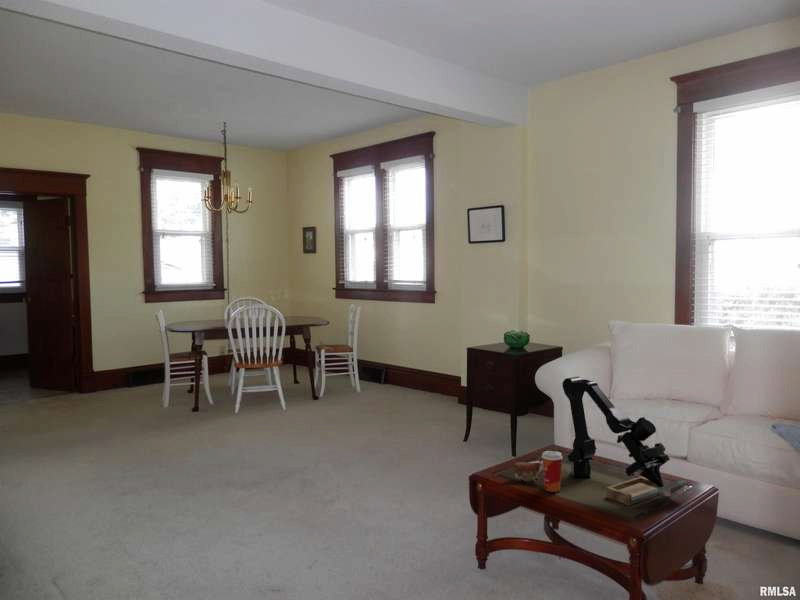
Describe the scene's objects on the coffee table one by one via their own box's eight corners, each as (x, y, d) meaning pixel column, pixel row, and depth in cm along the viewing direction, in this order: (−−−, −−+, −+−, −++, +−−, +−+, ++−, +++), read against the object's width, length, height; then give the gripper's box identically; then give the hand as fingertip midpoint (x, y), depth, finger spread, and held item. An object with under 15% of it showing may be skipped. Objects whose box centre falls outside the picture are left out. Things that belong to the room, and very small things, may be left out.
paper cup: (543, 485, 234) (543, 449, 233) (564, 487, 231) (563, 451, 230) (540, 492, 227) (539, 455, 226) (561, 495, 224) (561, 457, 223)
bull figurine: (547, 483, 236) (547, 462, 236) (512, 481, 239) (512, 460, 239) (547, 479, 241) (547, 459, 240) (512, 477, 243) (512, 457, 243)
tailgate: (630, 498, 213) (650, 491, 206) (665, 486, 223) (684, 479, 217) (632, 502, 212) (652, 495, 205) (667, 489, 223) (686, 482, 216)
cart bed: (606, 496, 221) (606, 487, 221) (640, 485, 232) (640, 476, 232) (629, 505, 213) (629, 495, 213) (663, 492, 224) (663, 483, 224)
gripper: (633, 440, 211) (661, 481, 203) (666, 432, 221) (693, 470, 213) (613, 456, 218) (639, 496, 210) (646, 447, 229) (672, 485, 220)
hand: (662, 486), depth 213 cm, fingers closed, pressing on tailgate
